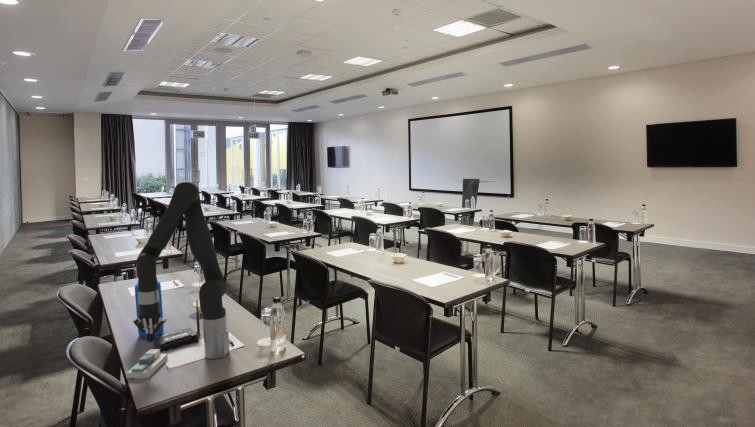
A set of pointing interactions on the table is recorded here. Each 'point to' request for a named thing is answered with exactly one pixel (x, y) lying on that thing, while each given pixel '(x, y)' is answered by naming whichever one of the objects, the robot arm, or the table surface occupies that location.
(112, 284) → the table surface
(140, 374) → the keypad
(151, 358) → the key
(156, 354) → the key
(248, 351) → the table surface
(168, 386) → the table surface
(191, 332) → the black wifi router
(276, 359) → the table surface
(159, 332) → the thermos
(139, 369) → the key
